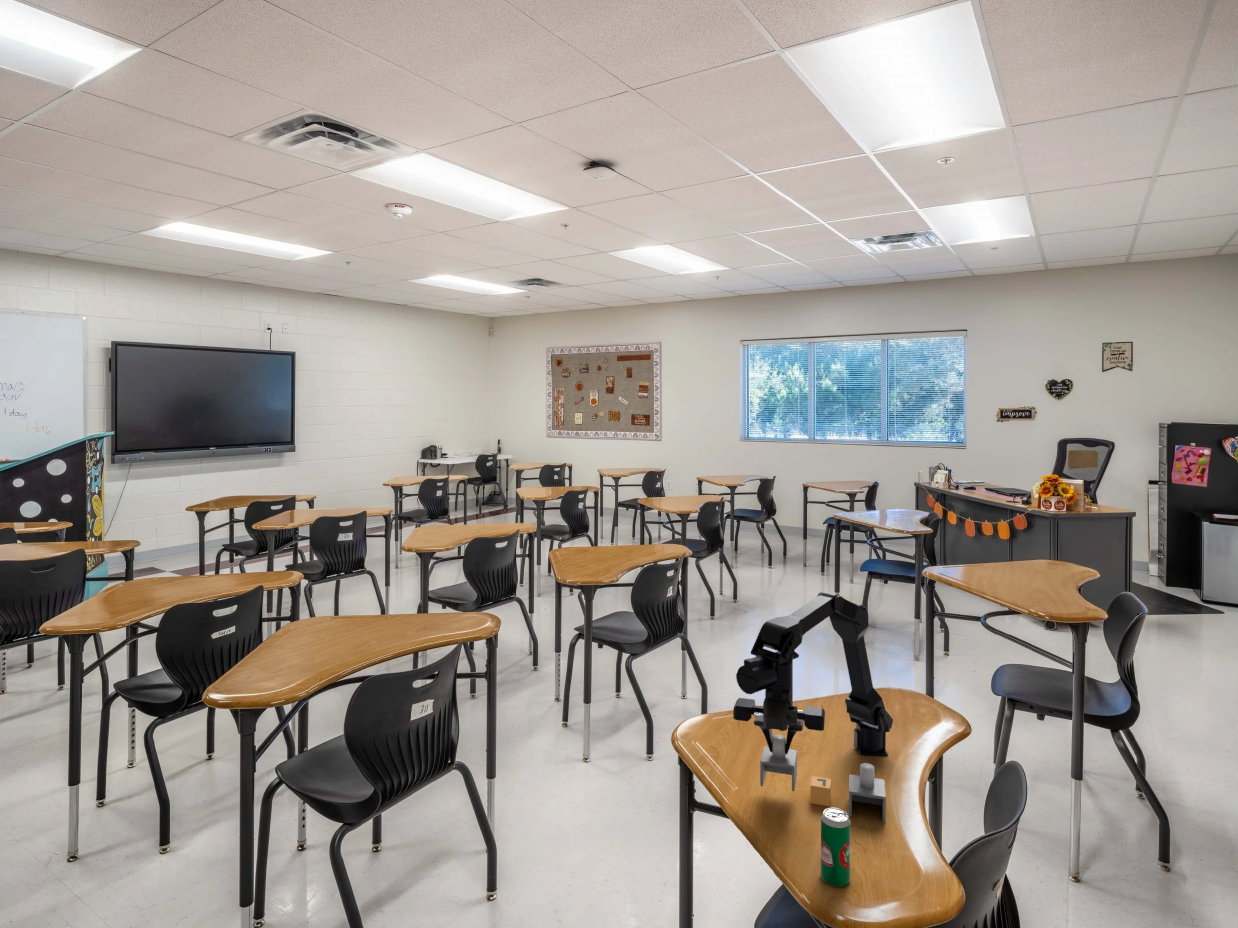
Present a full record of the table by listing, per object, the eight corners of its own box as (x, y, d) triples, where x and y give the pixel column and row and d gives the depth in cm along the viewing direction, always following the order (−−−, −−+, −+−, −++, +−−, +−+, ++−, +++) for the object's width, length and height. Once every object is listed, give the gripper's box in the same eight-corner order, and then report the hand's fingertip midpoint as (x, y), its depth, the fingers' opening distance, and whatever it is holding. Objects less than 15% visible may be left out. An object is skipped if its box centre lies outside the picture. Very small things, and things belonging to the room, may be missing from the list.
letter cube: (830, 796, 148) (831, 778, 147) (829, 806, 144) (830, 787, 144) (811, 793, 149) (811, 775, 149) (810, 803, 145) (810, 784, 145)
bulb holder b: (797, 774, 149) (797, 732, 148) (794, 791, 142) (794, 747, 141) (764, 769, 151) (764, 728, 150) (760, 785, 144) (760, 742, 144)
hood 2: (884, 804, 144) (884, 760, 144) (885, 822, 138) (886, 777, 137) (849, 798, 147) (849, 755, 146) (848, 816, 140) (849, 772, 139)
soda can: (816, 870, 124) (816, 806, 123) (843, 868, 124) (843, 805, 123) (826, 889, 118) (827, 823, 118) (855, 887, 119) (855, 821, 118)
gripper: (728, 690, 141) (729, 763, 142) (822, 701, 134) (822, 777, 136) (737, 671, 151) (737, 739, 152) (825, 680, 145) (824, 751, 146)
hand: (778, 752), depth 146 cm, fingers closed on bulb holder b, 3 cm apart
